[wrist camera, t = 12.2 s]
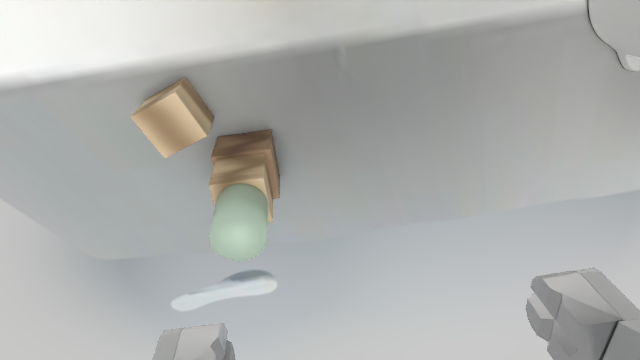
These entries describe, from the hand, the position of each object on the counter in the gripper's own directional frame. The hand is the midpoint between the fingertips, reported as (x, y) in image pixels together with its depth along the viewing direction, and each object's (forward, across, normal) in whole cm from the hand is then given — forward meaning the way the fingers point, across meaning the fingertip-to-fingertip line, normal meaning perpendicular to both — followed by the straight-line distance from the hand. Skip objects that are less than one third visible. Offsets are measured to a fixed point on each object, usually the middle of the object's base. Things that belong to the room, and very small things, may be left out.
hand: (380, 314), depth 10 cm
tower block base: (+34, +8, +12) cm, 37 cm away
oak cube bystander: (+34, +14, +5) cm, 37 cm away
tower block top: (+29, +8, +12) cm, 32 cm away
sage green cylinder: (+24, +8, +12) cm, 28 cm away
